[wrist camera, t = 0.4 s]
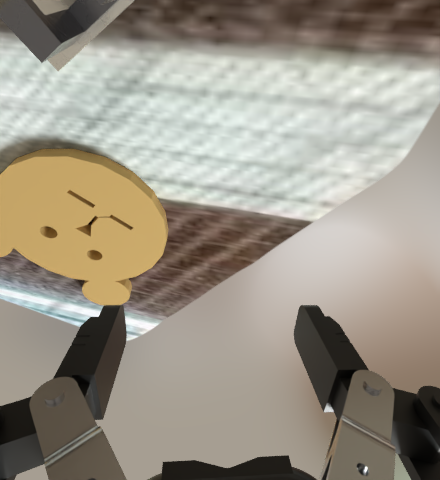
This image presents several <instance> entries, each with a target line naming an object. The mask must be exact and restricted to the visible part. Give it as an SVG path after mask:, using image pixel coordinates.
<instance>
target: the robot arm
mask: <svg viewBox="0 0 440 480" xmlns="http://www.w3.org/2000/svg"><path fill="white" fill-rule="evenodd" d="M294 340H295V344H296V347H297V349H298V351H299V354H300V356H301V358H302V361H303V364H304V366H305V368H306V371H307V373H308V376H309V378H310V380H311V383H312V385H313V388H314V390H315V392H316V395H317V397H318V400H319V402H320V404H321V407H322V409H323V412H334V413H335V415H336V417H337V419H336V422H335V425H334V429H333V432H332V436H331V440H330V444H329V447H328V451H327V455H326V458H325V462H324V465H323V469H322V472H321V475H320V478H319V480H394V469H395V453H397V454H398V455H399V457H400V459H401V461H402V463H403V465H404V467H405V468H406V470H407V472H408V474H409V476H410V478H411V480H440V389H439V388H437V387H433V386H423V387H421V388H420V389H419V391H418V393H417V394H414V393H410V392H406V391H402V390H398V389H395V388H392V387H391V385H390V384H389V383H388V382H387V381H386V380H385V379H384V378H383V377H382V376H380V375H379V374H377V373H375V372H372V371H369V370H368V368H367V366H366V365H365V363H364V362H363V360H362V359H361V357H360V356H359V354H358V353H357V351H356V350H355V348H354V347H353V345H352V344H351V343H350V341H349V339H348V337H347V336H346V335H345V333H344V331H343V330H342V328H341V327H340V325H339V324H338V323H337V322H336V321H334V320H333V319H332V318H331V317H328V316H327V317H325V316H324V314H323V313H322V311H321V309H320V308H319V307H318V306H317V305H301V306H300V308H299V311H298V316H297V320H296V325H295V329H294ZM125 344H126V324H125V315H124V307H123V305H104V307H103V309H102V311H101V313H100V315H99V317H90V318H89V319H88V320H87V321H86V322H85V323H84V324H83V325H81V327H80V329H79V331H78V333H77V335H76V338H74V340H73V342H72V345H71V346H70V348H69V350H68V352H67V354H66V356H65V357H64V359H63V361H62V363H61V365H60V367H59V369H58V370H57V372H56V374H55V376H54V378H53V379H52V380H50V381H48V382H46V383H44V384H43V385H41V386H40V387H39V388H38V389H37V390H36V391H35V393H34V394H33V395H32V397H29V398H26V399H23V400H20V401H16V402H14V403H10V404H6V405H3V406H0V480H14V479H15V477H16V475H17V474H19V473H22V472H24V471H27V470H30V469H32V468H35V467H37V466H40V465H43V464H45V468H46V471H47V475H48V479H49V480H126V477H125V476H124V473H123V471H122V469H121V467H120V465H119V463H118V461H117V459H116V457H115V454H114V452H113V450H112V448H111V446H110V444H109V442H108V440H107V438H106V436H105V434H104V432H103V430H102V428H101V427H98V426H97V424H96V422H95V420H101V419H103V418H104V414H105V411H106V408H107V404H108V401H109V397H110V394H111V391H112V388H113V384H114V381H115V378H116V374H117V371H118V367H119V364H120V361H121V358H122V354H123V351H124V348H125ZM148 480H316V479H315V478H314V477H312V476H311V475H309V474H308V473H306V472H304V471H302V470H299V469H297V468H294V467H291V463H290V459H289V456H269V457H257V458H255V459H252V460H250V461H247V462H245V463H242V464H239V465H236V466H234V467H231V468H223V467H219V466H215V465H211V464H207V463H203V462H199V461H195V460H192V461H175V462H174V461H173V462H163V467H162V473H161V474H158V475H156V476H154V477H152V478H150V479H148Z"/></svg>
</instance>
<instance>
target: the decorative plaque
mask: <svg viewBox="0 0 440 480" xmlns="http://www.w3.org/2000/svg"><path fill="white" fill-rule="evenodd" d="M94 217H95V218H94ZM93 218H94V220H93V223H92V225H91V226H90V225H88V223H89V222H90V221H91V220H92V219H93ZM50 227H51V228H50ZM52 228H53V229H52ZM167 235H168V226H167V220H166V214H165V210H164V208H163V207H162V205H161V203H160V201H159V200H158V198H157V196H156V195H155V193H154V191H153V190H152V189H151V188H150V187H149V186H147V185H146V184H145V183H144V182H143V181H142V180H141V179H140V178H139V177H138V176H137V175H136V174H135V173H134V172H132V171H130V170H128V169H126V168H125V167H123V166H121V165H119V164H117V163H115V162H114V161H112V160H110V159H108V158H106V157H103V156H100V155H96V154H92V153H88V152H84V151H80V150H77V149H41V150H38V151H35V152H32V153H29V154H27V155H24V156H21V157H18V158H16V159H15V160H14V161H13V162H12V163H11V164H10V165H9V166H8V167H7V168H6V169H5V170H4V171H3V172H2V173H1V174H0V257H2V256H6V255H8V254H9V253H10V252H11V251H12V250H13V248H15V249H16V250H17V251H18V252H19V253H21V254H22V255H23V256H24V257H25V258H27V259H28V260H30V261H32V262H34V263H36V264H38V265H40V266H41V267H43V268H45V269H47V270H49V271H52V272H55V273H58V274H61V275H64V276H67V277H70V278H73V279H80V280H85V282H84V284H83V287H82V292H83V294H84V296H85V297H86V298H88V299H89V300H91V301H92V302H94V303H97V304H100V305H120V304H123V303H125V302H127V300H128V299H129V297H130V292H131V288H132V285H131V282H130V280H129V279H128V278H132V277H136V276H138V275H139V274H141V273H143V272H145V271H147V270H148V269H150V268H152V267H153V265H154V264H155V263H156V262H157V261H158V260H159V258H160V257H161V256H162V255H163V251H164V248H165V244H166V240H167ZM95 250H96V251H95Z"/></svg>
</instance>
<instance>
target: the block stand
mask: <svg viewBox="0 0 440 480" xmlns="http://www.w3.org/2000/svg"><path fill="white" fill-rule="evenodd" d="M133 1H135V0H0V18H1V20H2V21H3V22H4V23H5V24H6V25H7V26H8V27H9V28H10V29H11V30H12V31H13V32H14V33H15V35H16V36H17V37H18V38H19V39H20V40H21V41H22V42H23V43H24V44H25V45H26V46H27V47H28V48H29V50H30V51H31V52H32V53H33V54H34V55H35V56H36V57H37V58H38V59H39V60H40V61H41V62H44V61H46V60H48V61H49V62H50V63H51V64H52V65H53V66H54V67H55V68H56V69H57V71H60V70H61V69H62V68H63V67H64V66H65V65H66V64H67V63H68V62H69V61H70V60H72V59H73V58H74V57H75V56H76V55H77V54H78V53H79V52H80V51H81V50H82V49H83V48H84V47H85V46H86V45H88V44H89V43H90V42H91V41H92V40H93V39H94V38H95V37H96V36H97V35H98V34H99V33H100V32H101V31H102V30H104V29H105V28H106V27H107V26H108V25H109V24H110V23H111V22H112V21H113V20H114V19H115V18H116V17H117V16H119V15H120V14H121V13H122V12H123V11H124V10H125V9H126V8H127V7H128V6H129V5H130V4H131V3H132V2H133Z"/></svg>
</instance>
